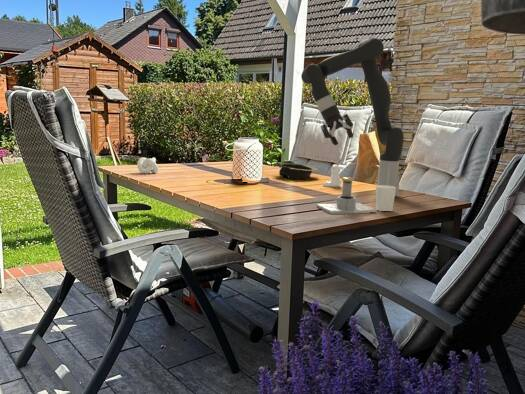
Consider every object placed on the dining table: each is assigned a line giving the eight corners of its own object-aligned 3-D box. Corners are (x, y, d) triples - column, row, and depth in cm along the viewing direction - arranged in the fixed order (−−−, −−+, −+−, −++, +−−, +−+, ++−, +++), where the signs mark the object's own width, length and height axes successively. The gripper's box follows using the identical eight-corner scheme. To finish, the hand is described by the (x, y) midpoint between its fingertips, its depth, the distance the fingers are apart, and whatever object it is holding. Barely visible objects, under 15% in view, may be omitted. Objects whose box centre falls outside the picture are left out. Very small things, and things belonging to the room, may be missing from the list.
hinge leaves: (359, 205, 212) (360, 193, 211) (375, 212, 199) (376, 200, 198) (316, 206, 206) (317, 194, 205) (330, 214, 193) (331, 201, 192)
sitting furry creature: (335, 184, 268) (336, 162, 266) (346, 187, 261) (347, 164, 259) (322, 185, 263) (323, 163, 261) (332, 188, 256) (334, 165, 254)
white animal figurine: (140, 174, 278) (140, 159, 277) (134, 172, 288) (134, 156, 287) (159, 174, 284) (159, 158, 282) (153, 171, 294) (153, 156, 292)
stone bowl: (267, 174, 296) (269, 159, 295) (303, 176, 307) (305, 162, 306) (287, 180, 274) (288, 163, 273) (324, 182, 285) (326, 166, 284)
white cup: (385, 213, 199) (387, 188, 197) (370, 209, 205) (372, 185, 203) (397, 211, 204) (399, 187, 202) (382, 207, 210) (384, 184, 208)
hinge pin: (348, 205, 205) (350, 177, 203) (353, 207, 201) (355, 178, 199) (338, 205, 204) (340, 177, 202) (343, 208, 200) (345, 179, 197)
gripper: (318, 110, 208) (335, 145, 209) (344, 99, 214) (361, 132, 214) (311, 116, 215) (327, 149, 216) (336, 105, 221) (352, 137, 221)
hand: (344, 141), depth 215 cm, fingers open, 8 cm apart
